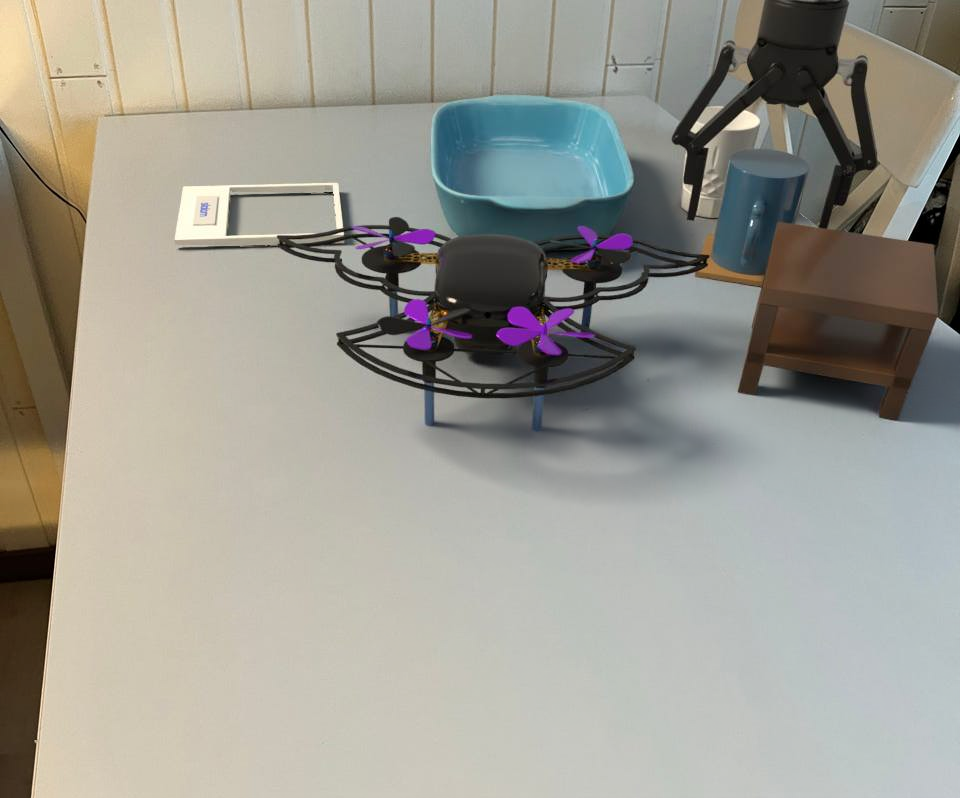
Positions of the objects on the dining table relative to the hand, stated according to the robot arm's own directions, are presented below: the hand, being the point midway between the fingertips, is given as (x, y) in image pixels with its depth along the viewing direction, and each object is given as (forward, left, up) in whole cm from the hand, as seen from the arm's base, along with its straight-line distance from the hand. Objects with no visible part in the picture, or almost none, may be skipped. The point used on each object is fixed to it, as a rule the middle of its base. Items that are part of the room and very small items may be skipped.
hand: (755, 225), depth 105 cm
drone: (+20, +33, -4) cm, 39 cm away
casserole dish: (+27, -7, -4) cm, 28 cm away
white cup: (+6, -14, -4) cm, 16 cm away
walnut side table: (-9, +20, -4) cm, 22 cm away
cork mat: (0, 0, -4) cm, 4 cm away
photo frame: (+54, +8, -4) cm, 55 cm away
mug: (0, +1, -4) cm, 4 cm away
